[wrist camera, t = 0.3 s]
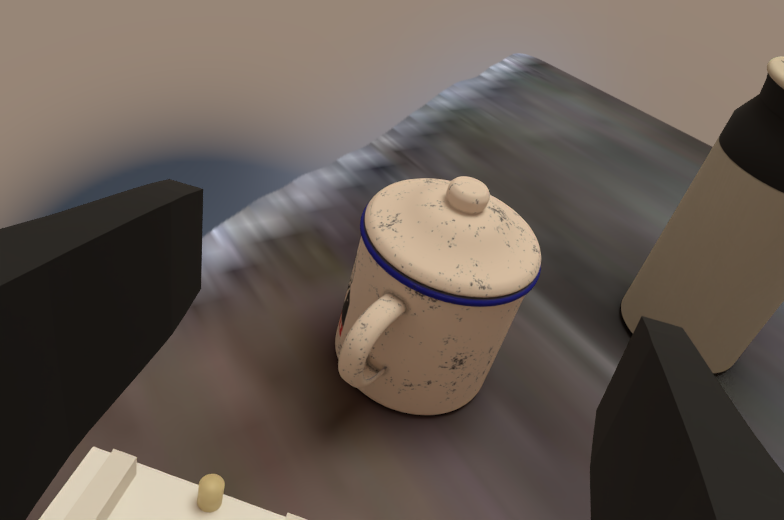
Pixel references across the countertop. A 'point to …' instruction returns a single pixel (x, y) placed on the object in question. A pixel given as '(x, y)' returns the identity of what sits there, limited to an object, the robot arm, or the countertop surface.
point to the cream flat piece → (145, 494)
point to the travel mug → (724, 238)
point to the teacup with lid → (432, 293)
